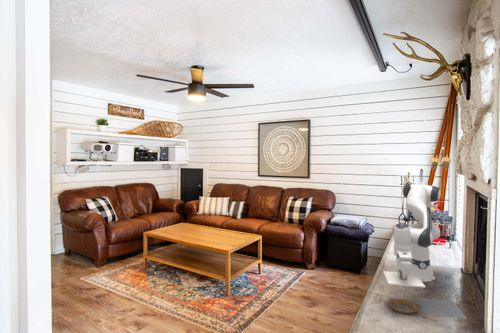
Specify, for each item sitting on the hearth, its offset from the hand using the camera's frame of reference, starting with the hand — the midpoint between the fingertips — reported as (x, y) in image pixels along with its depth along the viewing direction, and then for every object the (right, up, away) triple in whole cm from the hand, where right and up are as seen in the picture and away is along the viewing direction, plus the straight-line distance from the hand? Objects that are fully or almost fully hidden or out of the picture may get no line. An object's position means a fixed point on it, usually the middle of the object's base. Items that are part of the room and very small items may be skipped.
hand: (402, 276), depth 165 cm
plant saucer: (0, -19, 0) cm, 19 cm away
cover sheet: (0, -2, 0) cm, 2 cm away
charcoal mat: (+21, -18, 0) cm, 28 cm away
